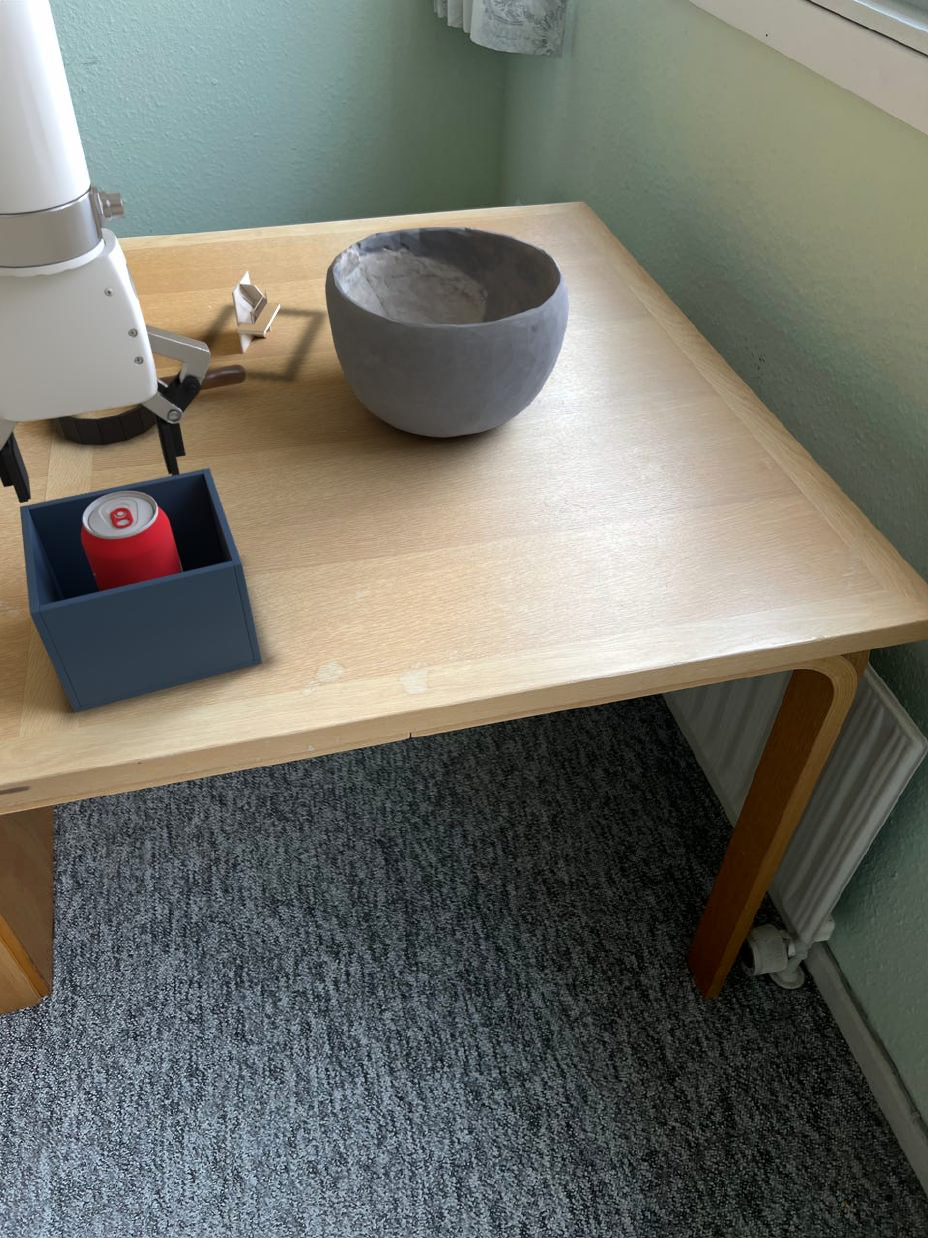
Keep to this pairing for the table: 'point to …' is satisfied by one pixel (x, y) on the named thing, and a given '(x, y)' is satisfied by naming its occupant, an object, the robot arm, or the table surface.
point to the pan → (135, 414)
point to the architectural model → (252, 311)
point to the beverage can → (128, 540)
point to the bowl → (446, 326)
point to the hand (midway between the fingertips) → (99, 477)
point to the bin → (139, 598)
